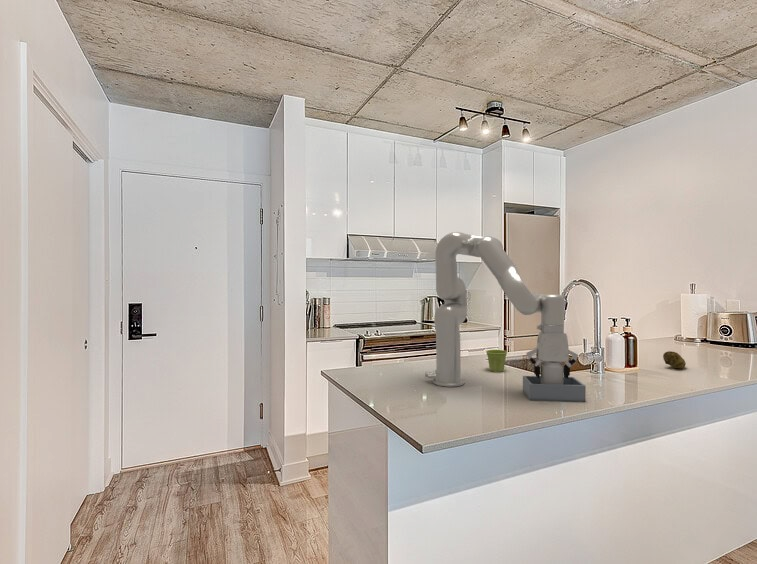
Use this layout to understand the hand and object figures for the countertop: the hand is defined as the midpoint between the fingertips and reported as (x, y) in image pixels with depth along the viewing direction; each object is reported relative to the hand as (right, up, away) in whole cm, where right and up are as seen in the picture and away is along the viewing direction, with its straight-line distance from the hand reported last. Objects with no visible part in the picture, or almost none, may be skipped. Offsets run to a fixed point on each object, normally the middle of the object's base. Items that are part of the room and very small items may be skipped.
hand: (551, 377), depth 148 cm
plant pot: (-9, -6, +39) cm, 40 cm away
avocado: (+72, -5, +40) cm, 83 cm away
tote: (0, -7, 0) cm, 7 cm away
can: (0, -6, 0) cm, 6 cm away
